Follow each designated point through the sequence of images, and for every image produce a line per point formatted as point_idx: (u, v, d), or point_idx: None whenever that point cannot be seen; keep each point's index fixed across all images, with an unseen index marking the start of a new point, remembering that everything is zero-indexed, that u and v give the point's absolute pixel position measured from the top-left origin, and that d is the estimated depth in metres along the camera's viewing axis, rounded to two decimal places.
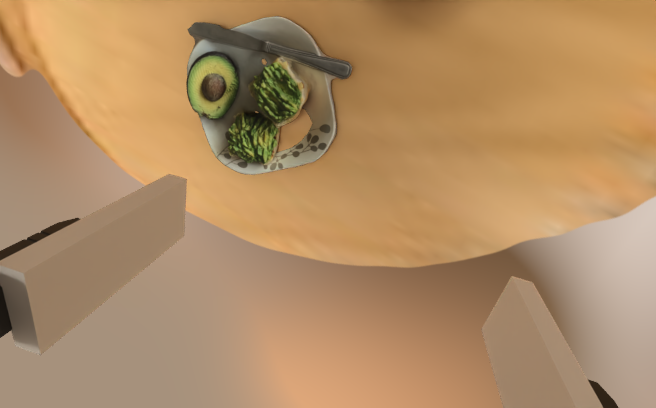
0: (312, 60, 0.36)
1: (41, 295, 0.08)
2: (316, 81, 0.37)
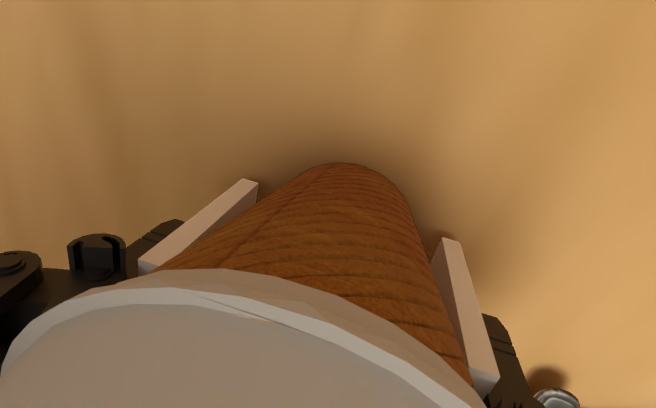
0: None
1: None
2: None
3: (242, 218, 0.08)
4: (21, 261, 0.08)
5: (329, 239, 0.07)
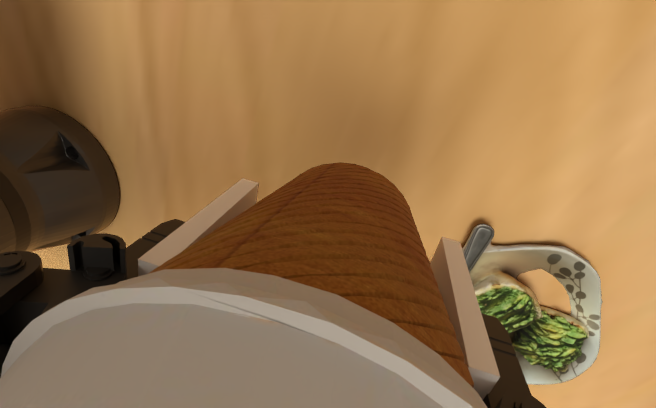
0: None
1: None
2: (490, 262, 0.31)
3: (242, 218, 0.08)
4: (21, 261, 0.08)
5: (329, 239, 0.07)
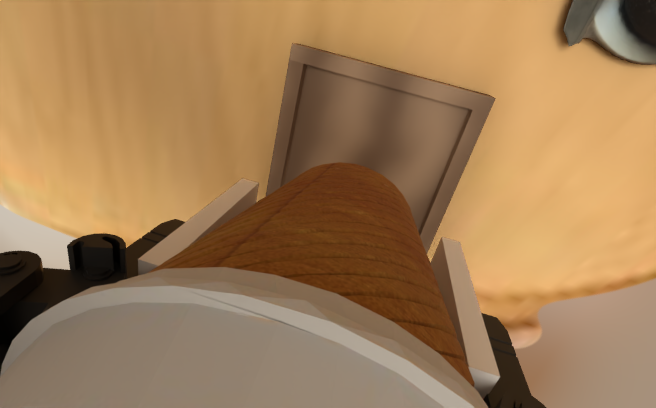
0: None
1: None
2: None
3: (242, 217, 0.08)
4: (21, 261, 0.08)
5: (329, 238, 0.07)
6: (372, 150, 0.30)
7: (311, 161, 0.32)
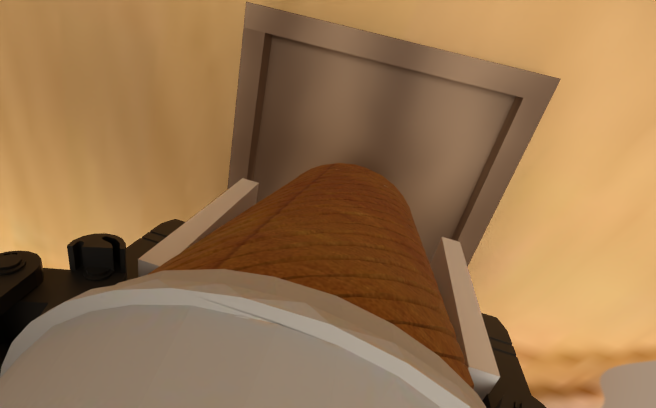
0: None
1: None
2: None
3: (242, 218, 0.08)
4: (21, 261, 0.08)
5: (329, 240, 0.07)
6: (371, 160, 0.21)
7: (284, 176, 0.23)
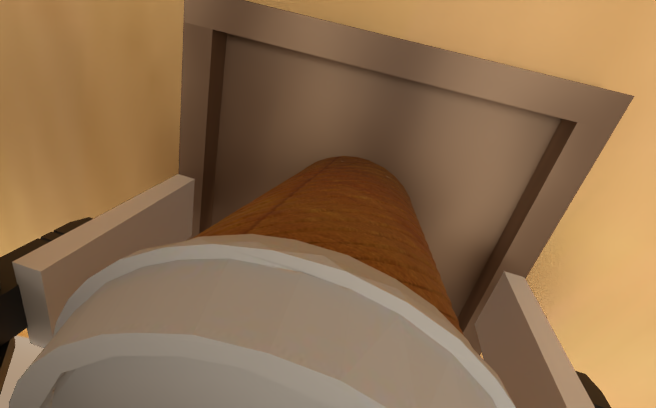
0: None
1: (56, 293, 0.09)
2: None
3: (258, 201, 0.09)
4: None
5: (338, 216, 0.08)
6: None
7: None
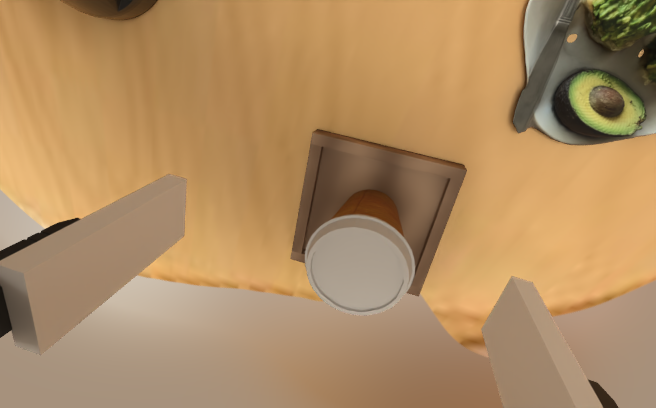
0: None
1: (41, 295, 0.08)
2: None
3: (348, 207, 0.32)
4: None
5: (372, 211, 0.30)
6: None
7: (328, 214, 0.40)
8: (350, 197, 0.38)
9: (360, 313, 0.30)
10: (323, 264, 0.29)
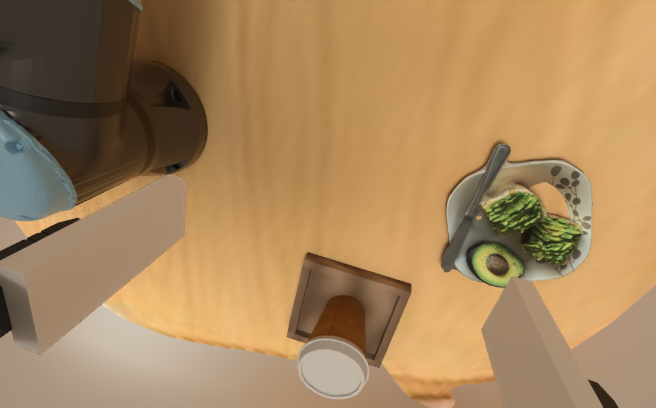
0: (488, 178, 0.41)
1: (41, 295, 0.08)
2: (507, 176, 0.41)
3: (327, 321, 0.47)
4: None
5: (343, 328, 0.45)
6: None
7: (315, 308, 0.55)
8: (330, 301, 0.53)
9: (333, 397, 0.45)
10: (309, 366, 0.44)
